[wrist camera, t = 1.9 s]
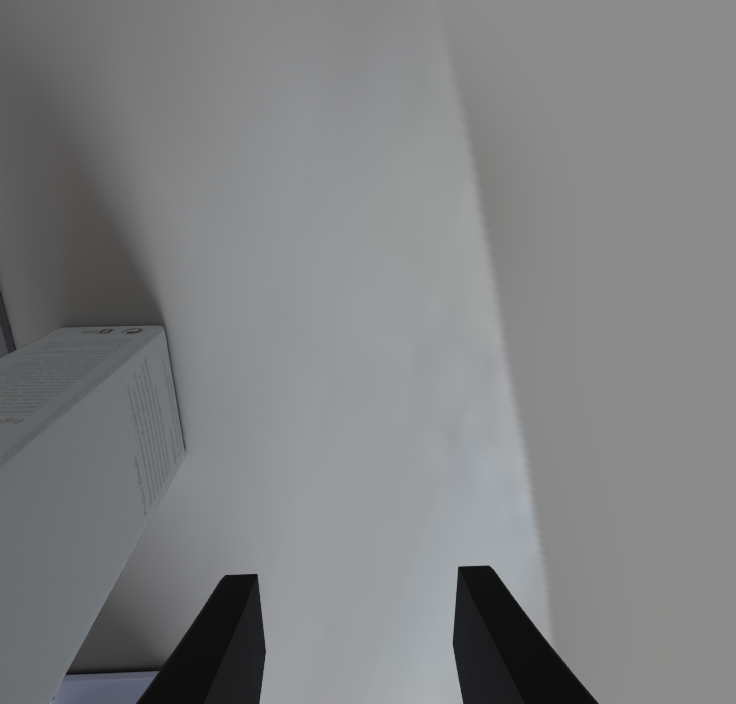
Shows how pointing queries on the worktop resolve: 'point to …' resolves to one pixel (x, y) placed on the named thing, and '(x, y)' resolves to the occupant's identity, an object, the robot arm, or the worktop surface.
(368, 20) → the worktop surface
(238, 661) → the robot arm
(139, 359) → the skincare box
